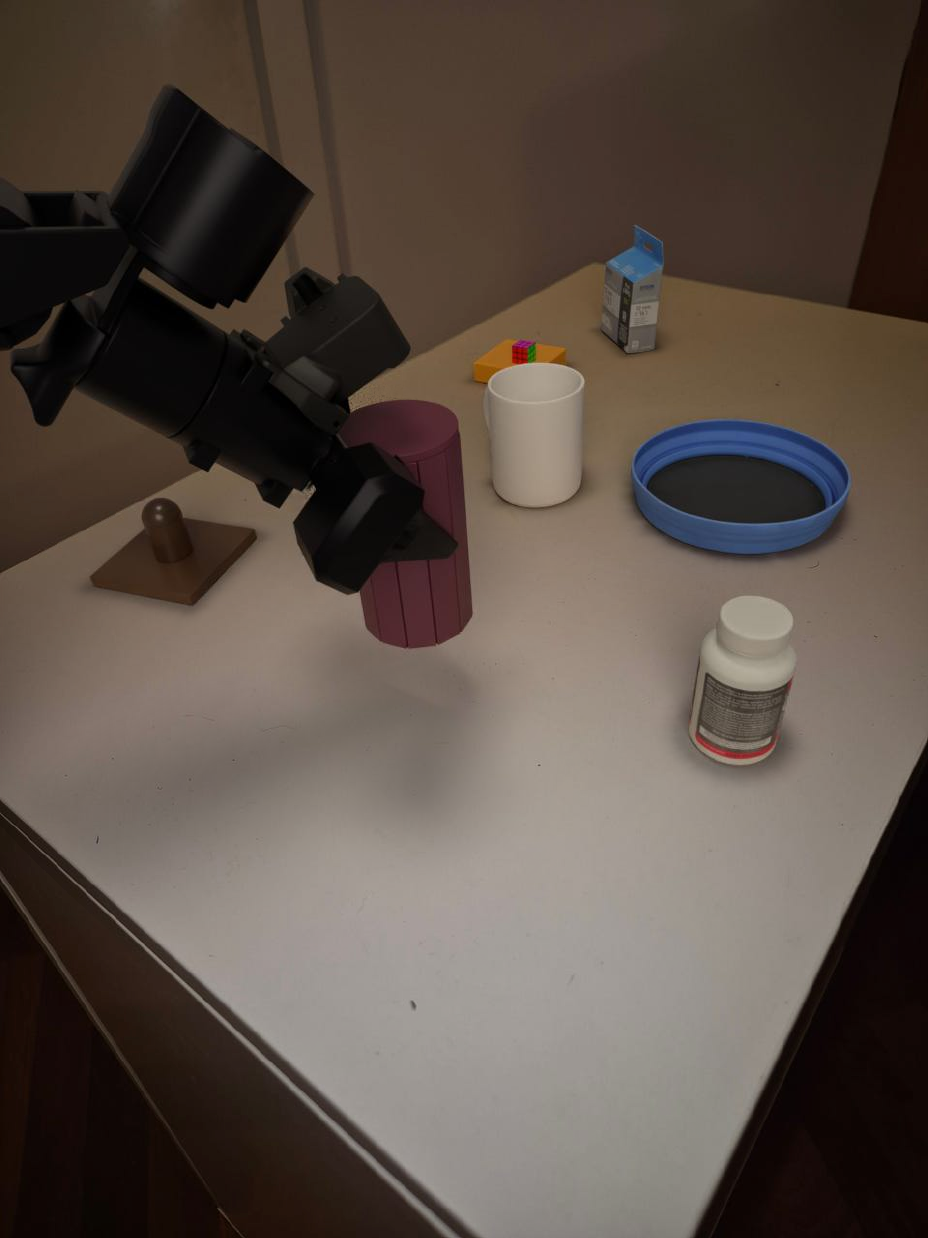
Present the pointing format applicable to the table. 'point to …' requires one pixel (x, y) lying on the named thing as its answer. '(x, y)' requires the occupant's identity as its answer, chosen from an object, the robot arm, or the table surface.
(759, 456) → the bowl
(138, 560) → the hat stand
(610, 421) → the table surface
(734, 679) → the pill bottle
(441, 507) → the maroon grooved cylinder
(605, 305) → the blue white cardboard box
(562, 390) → the mug
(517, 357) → the orange slab with cube
